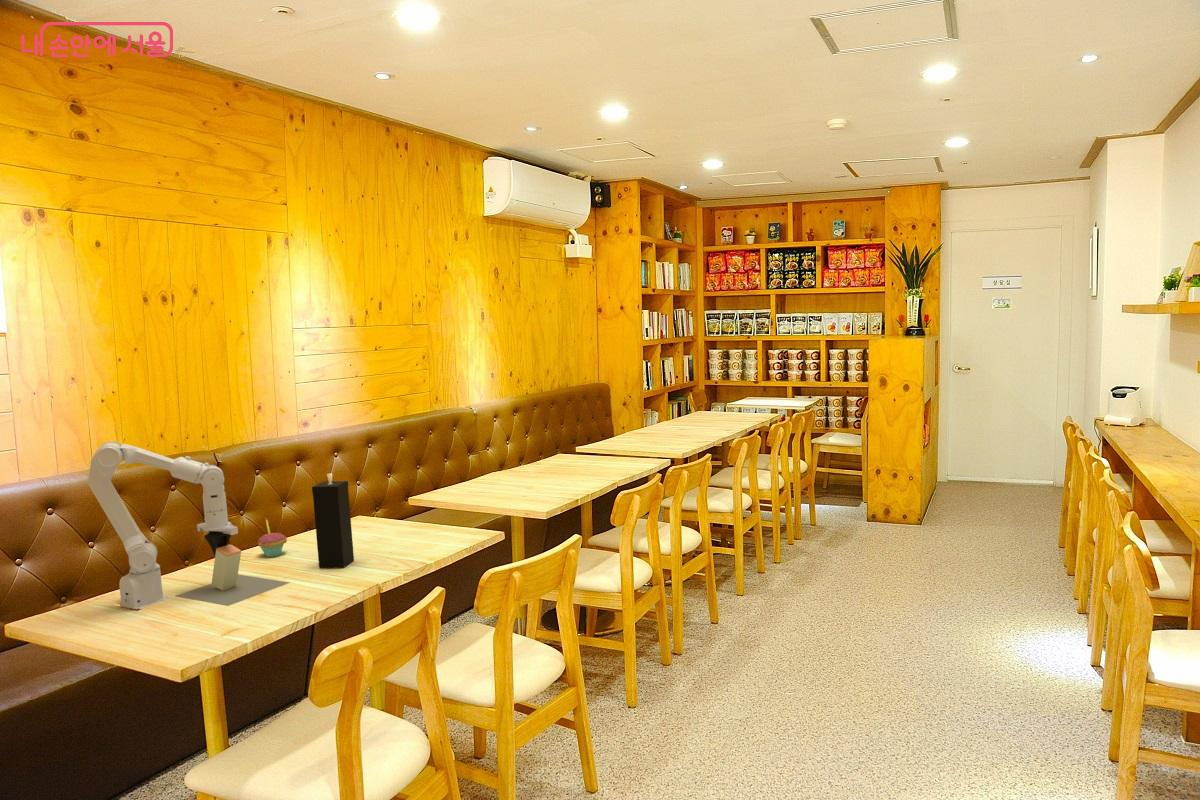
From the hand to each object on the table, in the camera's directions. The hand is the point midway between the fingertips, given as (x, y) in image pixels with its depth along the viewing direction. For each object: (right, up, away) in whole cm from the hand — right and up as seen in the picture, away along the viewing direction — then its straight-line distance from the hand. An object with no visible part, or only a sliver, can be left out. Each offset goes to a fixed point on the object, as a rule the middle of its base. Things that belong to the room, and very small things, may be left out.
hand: (220, 558), depth 229 cm
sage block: (+1, -8, 0) cm, 8 cm away
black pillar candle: (+26, -6, +20) cm, 33 cm away
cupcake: (+1, -6, +35) cm, 35 cm away
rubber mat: (+4, -9, -1) cm, 10 cm away
